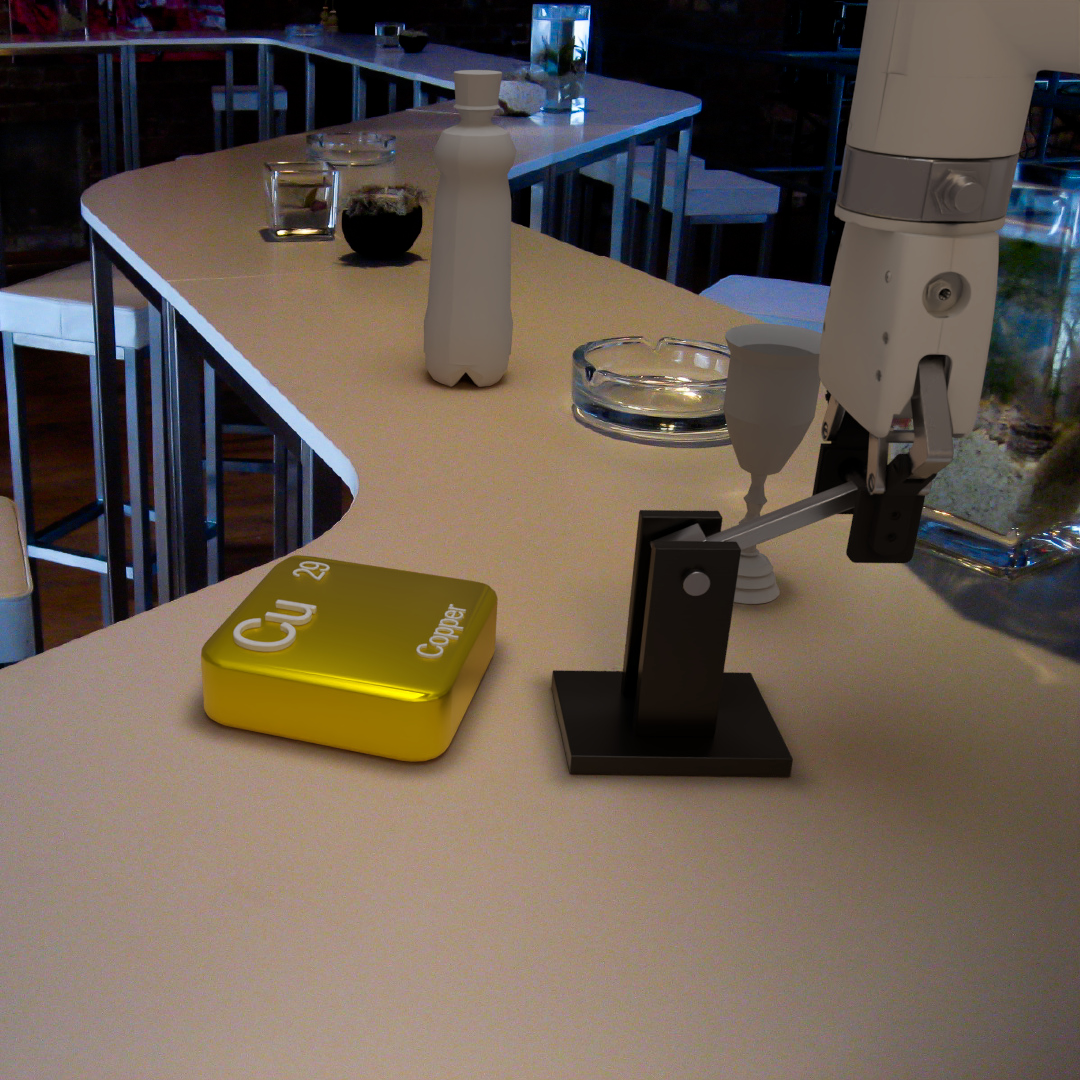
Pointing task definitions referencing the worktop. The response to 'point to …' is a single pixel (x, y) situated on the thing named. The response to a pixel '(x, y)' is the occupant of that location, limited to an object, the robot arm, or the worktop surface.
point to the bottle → (471, 241)
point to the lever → (788, 512)
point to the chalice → (767, 422)
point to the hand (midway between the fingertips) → (858, 532)
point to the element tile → (352, 657)
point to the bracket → (672, 671)
